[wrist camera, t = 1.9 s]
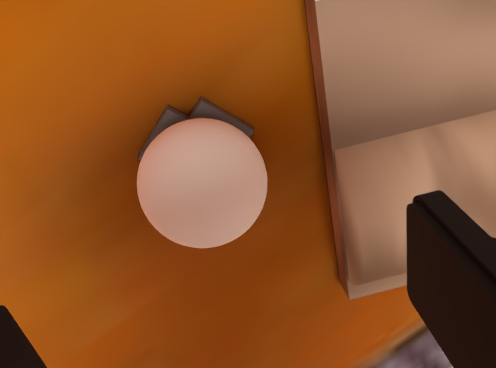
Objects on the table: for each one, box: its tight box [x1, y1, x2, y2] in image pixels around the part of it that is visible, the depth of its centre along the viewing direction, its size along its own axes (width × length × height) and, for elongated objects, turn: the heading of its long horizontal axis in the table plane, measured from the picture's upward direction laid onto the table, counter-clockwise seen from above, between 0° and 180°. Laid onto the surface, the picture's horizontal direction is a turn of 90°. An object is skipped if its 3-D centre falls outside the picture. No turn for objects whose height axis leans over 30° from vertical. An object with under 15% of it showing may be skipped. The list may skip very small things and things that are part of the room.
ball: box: [137, 118, 267, 248], centre depth 17 cm, size 5×5×5 cm
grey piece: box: [138, 97, 254, 162], centre depth 19 cm, size 5×5×1 cm
